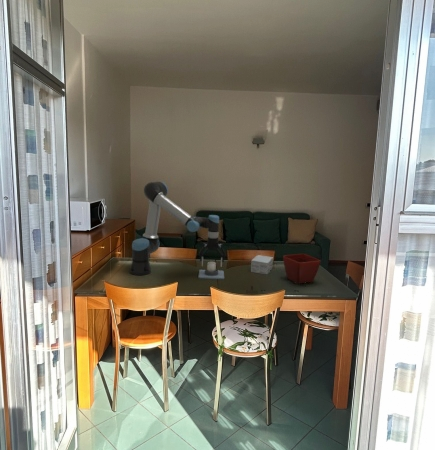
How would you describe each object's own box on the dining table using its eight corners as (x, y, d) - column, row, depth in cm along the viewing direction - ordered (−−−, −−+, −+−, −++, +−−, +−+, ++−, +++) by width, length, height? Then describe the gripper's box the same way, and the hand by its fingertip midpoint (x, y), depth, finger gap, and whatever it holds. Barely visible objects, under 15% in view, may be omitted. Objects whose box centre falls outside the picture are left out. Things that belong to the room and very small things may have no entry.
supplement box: (256, 265, 270) (257, 254, 269) (272, 268, 266) (273, 257, 264) (250, 271, 255) (251, 259, 253) (267, 274, 250) (268, 262, 248)
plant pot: (280, 277, 245) (282, 255, 242) (301, 275, 253) (303, 253, 250) (296, 286, 228) (299, 262, 225) (319, 283, 236) (321, 260, 232)
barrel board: (198, 278, 235) (198, 273, 234) (199, 270, 251) (199, 266, 250) (224, 279, 235) (224, 274, 235) (223, 271, 251) (223, 267, 250)
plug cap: (207, 272, 246) (207, 261, 244) (215, 272, 246) (215, 261, 244) (207, 274, 240) (207, 264, 238) (215, 275, 240) (215, 264, 239)
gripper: (195, 237, 234) (194, 266, 238) (230, 239, 234) (229, 268, 238) (195, 235, 241) (194, 263, 245) (230, 236, 242) (228, 265, 246)
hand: (211, 266), depth 242 cm, fingers open, 13 cm apart
